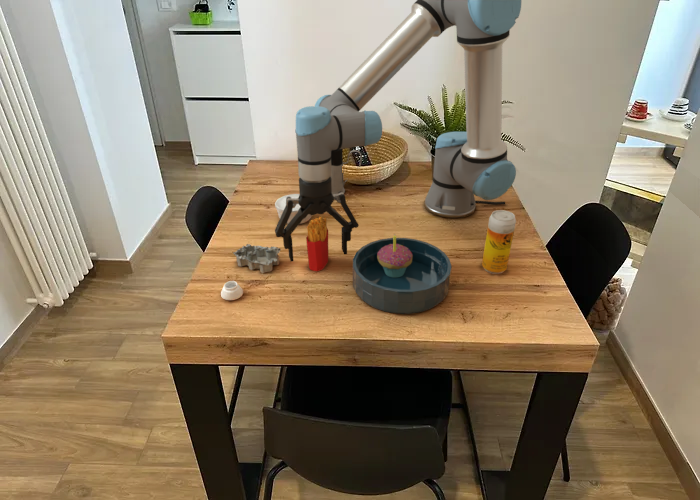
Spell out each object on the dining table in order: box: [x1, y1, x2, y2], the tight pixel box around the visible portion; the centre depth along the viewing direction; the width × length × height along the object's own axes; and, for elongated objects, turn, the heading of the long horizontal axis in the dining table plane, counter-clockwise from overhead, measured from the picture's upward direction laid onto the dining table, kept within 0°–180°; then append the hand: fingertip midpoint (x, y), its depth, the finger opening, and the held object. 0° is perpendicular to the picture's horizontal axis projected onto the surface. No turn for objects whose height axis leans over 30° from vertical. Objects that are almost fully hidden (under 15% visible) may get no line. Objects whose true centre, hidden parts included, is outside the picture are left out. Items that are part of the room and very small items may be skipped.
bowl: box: [352, 237, 453, 315], centre depth 117 cm, size 23×23×6 cm
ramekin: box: [274, 193, 313, 225], centre depth 146 cm, size 11×11×5 cm
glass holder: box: [330, 149, 363, 195], centre depth 159 cm, size 9×14×15 cm, turn 94°
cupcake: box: [377, 233, 413, 278], centre depth 119 cm, size 9×8×12 cm
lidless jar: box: [220, 280, 244, 301], centre depth 115 cm, size 5×3×5 cm
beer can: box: [481, 209, 517, 275], centre depth 120 cm, size 6×6×15 cm
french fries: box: [305, 216, 329, 272], centre depth 123 cm, size 8×4×12 cm, turn 161°
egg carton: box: [232, 243, 282, 274], centre depth 126 cm, size 11×8×4 cm
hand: (318, 255), depth 125 cm, fingers open, 13 cm apart
